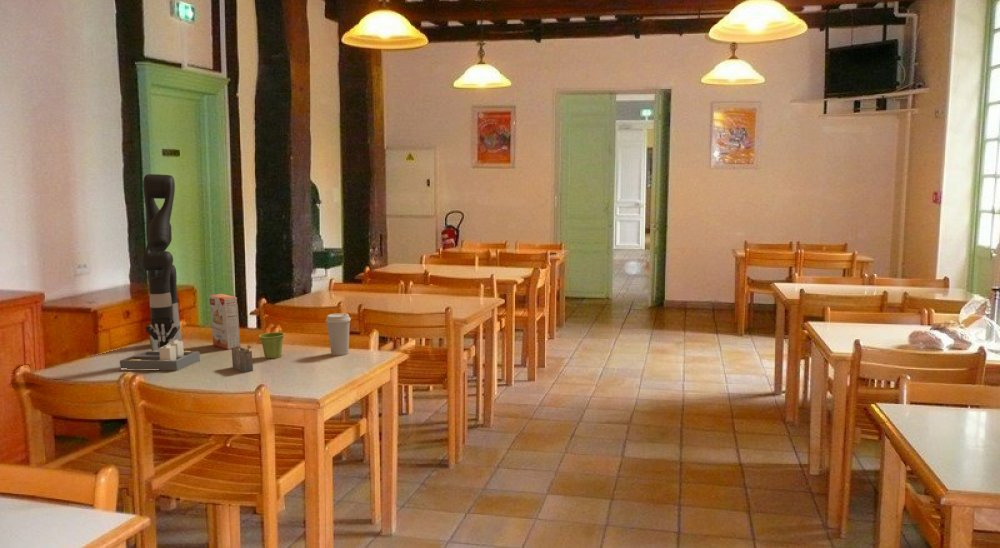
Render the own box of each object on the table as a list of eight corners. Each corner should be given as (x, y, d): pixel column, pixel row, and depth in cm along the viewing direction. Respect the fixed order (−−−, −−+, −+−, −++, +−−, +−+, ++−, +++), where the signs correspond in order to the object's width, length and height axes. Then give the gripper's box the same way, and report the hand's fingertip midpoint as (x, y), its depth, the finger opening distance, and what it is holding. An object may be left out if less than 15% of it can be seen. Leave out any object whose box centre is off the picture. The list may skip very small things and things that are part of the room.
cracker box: (212, 345, 338) (208, 294, 335) (226, 343, 342) (222, 293, 339) (226, 350, 328) (223, 298, 325) (241, 347, 332) (237, 296, 329)
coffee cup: (338, 357, 309) (336, 318, 308) (321, 354, 315) (319, 315, 313) (357, 352, 317) (355, 314, 315) (340, 349, 323) (339, 312, 321)
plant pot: (266, 361, 306) (265, 338, 305) (256, 357, 314) (254, 334, 312) (290, 357, 312) (288, 334, 311) (279, 353, 319) (278, 331, 318)
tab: (166, 361, 301) (165, 343, 300) (176, 361, 300) (175, 343, 300) (160, 364, 297) (159, 345, 296) (170, 364, 296) (169, 346, 296)
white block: (174, 356, 309) (172, 339, 308) (184, 356, 309) (182, 339, 308) (168, 359, 305) (167, 341, 304) (178, 359, 305) (177, 341, 304)
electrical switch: (154, 359, 315) (151, 335, 314) (149, 358, 318) (146, 334, 318) (178, 355, 321) (176, 331, 321) (173, 354, 325) (170, 331, 324)
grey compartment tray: (145, 360, 313) (145, 350, 313) (199, 360, 310) (199, 350, 309) (120, 370, 298) (119, 360, 297) (177, 370, 294) (176, 360, 294)
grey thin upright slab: (254, 372, 291) (252, 345, 290) (246, 373, 289) (244, 346, 288) (240, 366, 300) (239, 340, 299) (232, 368, 298) (231, 342, 297)
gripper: (183, 303, 308) (186, 348, 310) (150, 303, 310) (153, 348, 312) (172, 306, 300) (175, 353, 302) (138, 306, 302) (142, 352, 304)
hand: (164, 350), depth 307 cm, fingers closed
